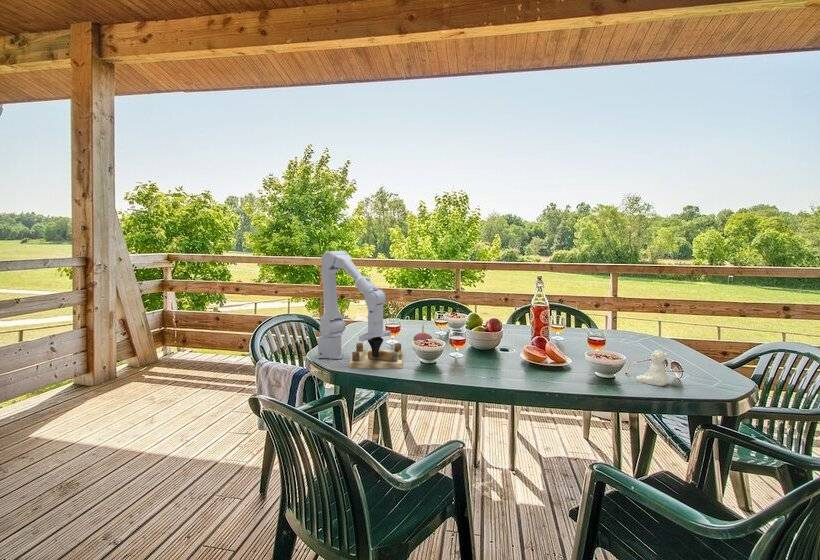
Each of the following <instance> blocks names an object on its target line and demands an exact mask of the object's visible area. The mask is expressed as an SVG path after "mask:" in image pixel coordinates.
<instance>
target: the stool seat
mask: <svg viewBox="0 0 820 560" xmlns="http://www.w3.org/2000/svg"><path fill="white" fill-rule="evenodd" d="M355 345H356V347H355V348H356V349H355V350H354V351H353V352H351V358H350V361H349V365H348V366H349V367H348V368H349V369H397V370H398V369H400V368H402V369H403V357H404V356H403V353H404V352H403V349H402V343H399V342H398V343H396V342H395V343H394V348H393V349H379V351H386V352H397V353H398V360H397V361H388V360H377V359H368V351H370V350H371V349H364V343H363V342H356V344H355Z"/></svg>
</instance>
